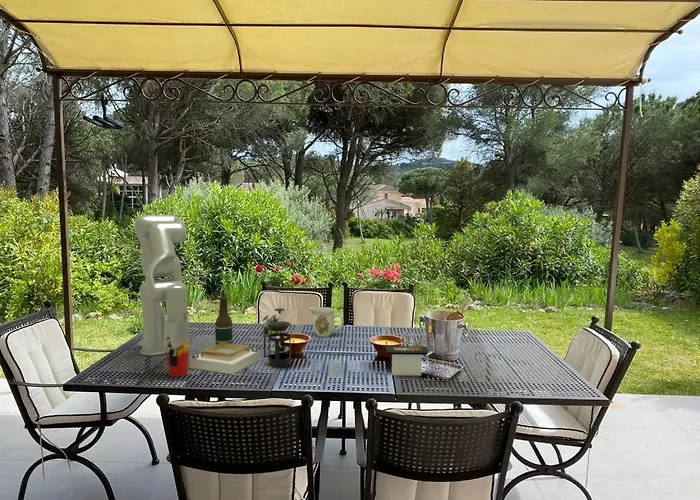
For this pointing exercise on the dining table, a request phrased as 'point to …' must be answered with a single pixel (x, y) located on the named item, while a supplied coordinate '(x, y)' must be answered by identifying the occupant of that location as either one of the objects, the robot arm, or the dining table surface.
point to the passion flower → (266, 326)
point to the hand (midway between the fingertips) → (178, 363)
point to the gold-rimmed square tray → (225, 358)
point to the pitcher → (324, 321)
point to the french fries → (180, 361)
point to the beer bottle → (223, 323)
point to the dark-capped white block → (407, 358)
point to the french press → (278, 344)
